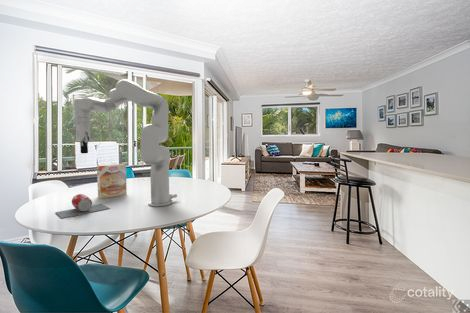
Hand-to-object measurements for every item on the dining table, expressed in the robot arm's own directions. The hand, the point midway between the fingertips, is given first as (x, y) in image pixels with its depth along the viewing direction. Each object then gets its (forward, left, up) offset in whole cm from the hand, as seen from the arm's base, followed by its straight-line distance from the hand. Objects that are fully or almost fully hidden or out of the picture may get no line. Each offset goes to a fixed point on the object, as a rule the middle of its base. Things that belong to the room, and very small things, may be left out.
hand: (84, 153), depth 134 cm
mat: (+8, +24, -27) cm, 37 cm away
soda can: (+8, +16, -23) cm, 29 cm away
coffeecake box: (-14, +1, -27) cm, 31 cm away
